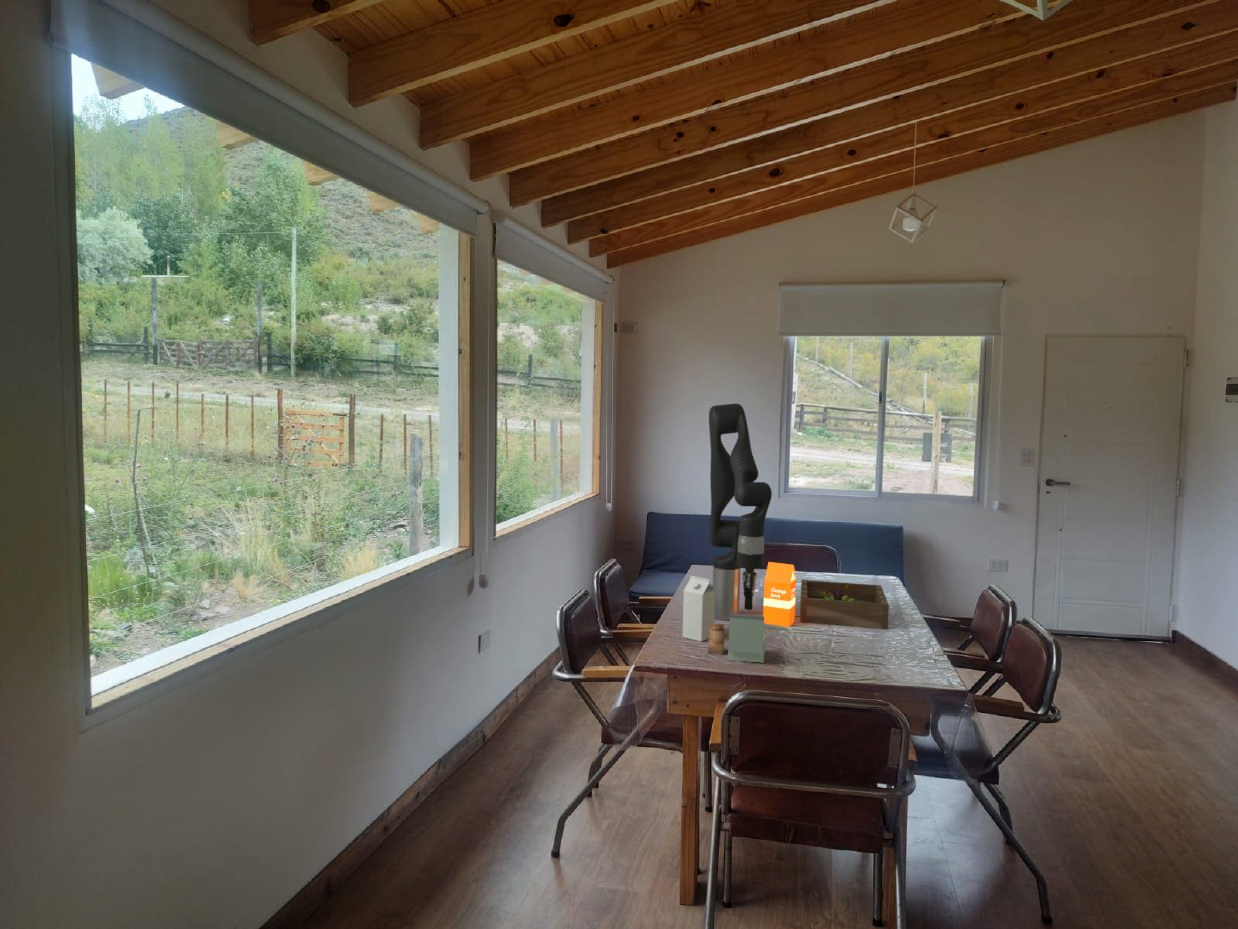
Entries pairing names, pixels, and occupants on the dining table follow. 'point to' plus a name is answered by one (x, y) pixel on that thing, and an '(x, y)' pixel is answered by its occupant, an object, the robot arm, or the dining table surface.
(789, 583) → the orange juice
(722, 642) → the brown ridged cylinder
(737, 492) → the robot arm
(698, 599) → the milk carton
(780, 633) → the dining table surface
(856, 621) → the planter frame
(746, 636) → the panel
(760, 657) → the crate
